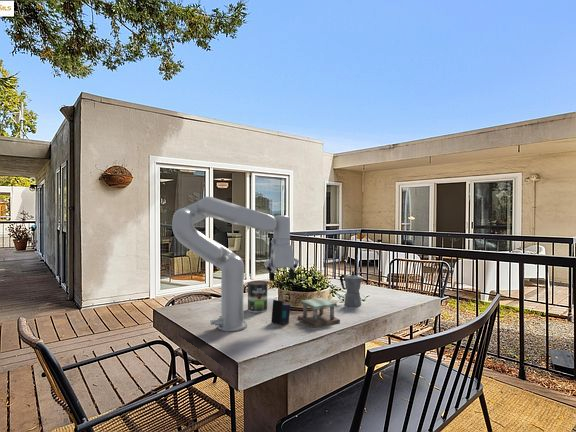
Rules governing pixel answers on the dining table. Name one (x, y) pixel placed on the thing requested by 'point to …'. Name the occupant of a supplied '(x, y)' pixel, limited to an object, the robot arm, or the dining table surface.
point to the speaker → (280, 312)
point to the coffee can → (257, 296)
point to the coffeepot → (352, 289)
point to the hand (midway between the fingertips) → (282, 279)
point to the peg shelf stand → (321, 317)
